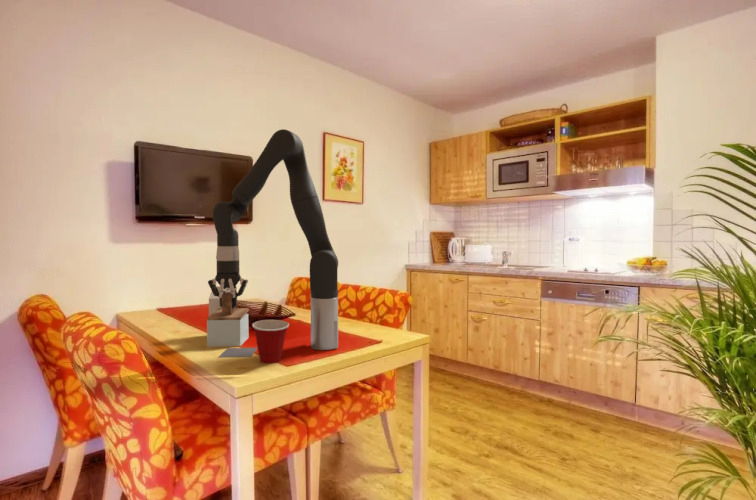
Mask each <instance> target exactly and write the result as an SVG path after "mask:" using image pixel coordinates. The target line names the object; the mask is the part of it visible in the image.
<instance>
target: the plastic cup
mask: <svg viewBox="0 0 756 500" xmlns="http://www.w3.org/2000/svg"><path fill="white" fill-rule="evenodd" d="M251 324H252V328H253V331H254V335H255V340H256V344H257V346H256V347H257V348H258V349H257V351H258V355H259V361H260V362H261V363H263V364H275V363H276V364H277V363H278V362H280V361H281V360H282V354H283V350H284V346H285V338H286V334H287V331H288V329H289V326H290V323H289V321H288V322H287V321H285V320H282V319H261V320H258V321H257V320H256V321H255V322H253V323H251Z"/></svg>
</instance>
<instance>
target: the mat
mask: <svg viewBox="0 0 756 500" xmlns="http://www.w3.org/2000/svg"><path fill="white" fill-rule="evenodd" d="M256 351H258V347H227V348H226V349H225V350H224V351H223V352H222V353H221V354H219V355H218V357H217V358H251V357H252V356H253V355H254V354H255V352H256Z"/></svg>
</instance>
